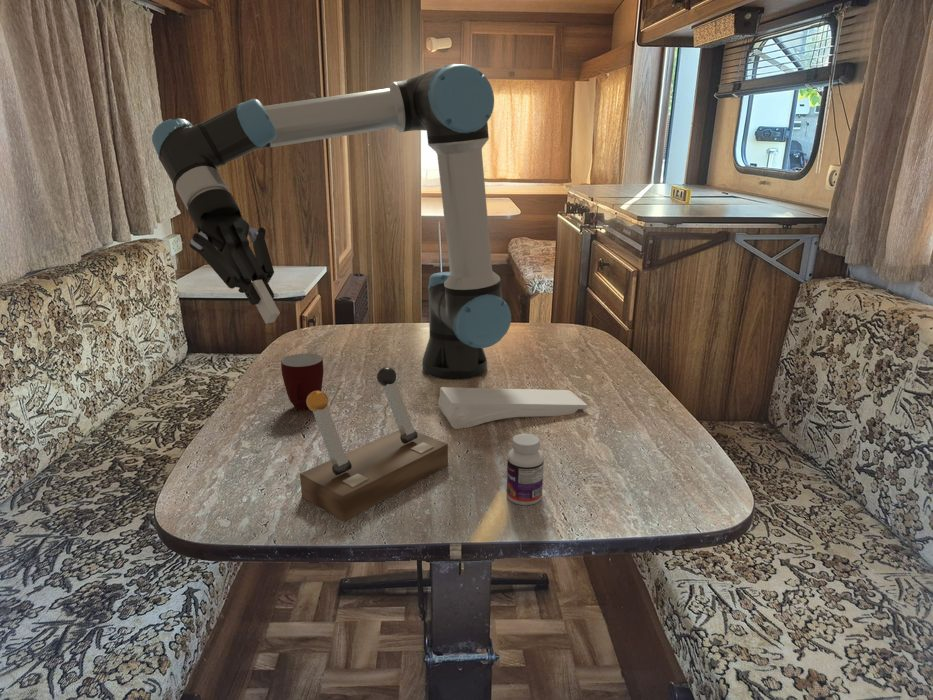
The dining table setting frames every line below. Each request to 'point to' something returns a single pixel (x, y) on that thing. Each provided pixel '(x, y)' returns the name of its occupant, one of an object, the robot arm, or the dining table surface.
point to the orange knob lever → (328, 431)
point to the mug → (302, 377)
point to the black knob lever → (396, 404)
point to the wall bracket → (503, 404)
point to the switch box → (373, 473)
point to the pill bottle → (525, 470)
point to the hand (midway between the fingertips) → (272, 318)
